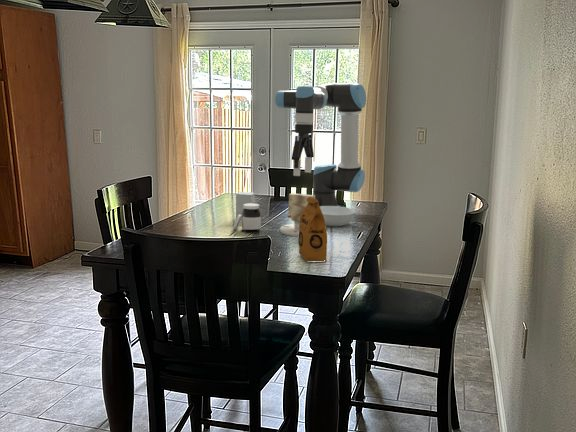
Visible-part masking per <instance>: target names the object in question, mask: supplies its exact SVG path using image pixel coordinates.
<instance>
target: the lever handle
mask: <svg viewBox="0 0 576 432" xmlns="http://www.w3.org/2000/svg"><path fill="white" fill-rule="evenodd" d="M308 197H312V198H314V199H315V195H313V194H303V193H293V192H291V193H289V194H288V214H287V216H286V217H287V218H289V219H290V220H291V221H292V222H294V221H296V222H300V216H301V214H302V212H303V211H304V209H305V207H306V206H307V204H308V201H307V198H308Z"/></svg>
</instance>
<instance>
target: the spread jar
mask: <svg viewBox="0 0 576 432" xmlns="http://www.w3.org/2000/svg"><path fill="white" fill-rule="evenodd" d="M243 208H244V209H243V211H242V215H238V216H237V218H236V217H235V220H234V223H233V227H232V229H233V230H234V231H237V230H238V229H239V226H240V224H241V230H242V232H243V233H247V234H248V233H249V234H255V233H259V232H261V225H262V223H261V221H262V219H261V218H262V215H261V214H262V213H261V210H260V204H258V203H255V202H254V203H247V204H244V205H243ZM241 219H242V221H241Z"/></svg>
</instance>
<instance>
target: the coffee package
mask: <svg viewBox="0 0 576 432" xmlns="http://www.w3.org/2000/svg"><path fill="white" fill-rule="evenodd" d="M307 201H308V204H307V206H306V207H305V209H304V211H303V212H302V214H301V216H300V225H299V237H298V238H297V244H298V254H299V255H300V256H301V258H303V260H305V261H306V262H307V261H324V260H326V261H327V256H328V255H327V251H328V231H327V226H326V225H325V220H324V216H323V214H322V211H321V209H320V206H319V203H318V201H317V200H316V199H314V198H312V197H308V198H307Z"/></svg>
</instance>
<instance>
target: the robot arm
mask: <svg viewBox="0 0 576 432" xmlns="http://www.w3.org/2000/svg"><path fill="white" fill-rule="evenodd" d="M366 93H367V92H366V89H365V88H364V86H363V85H362V84H360V83H356V82H355V83H354V82H343V83H341V82H332V83H331V82H329V83H325V84H320V85H315V86H313V85H311V86H310V85H298V86H296V88H295V89H294V90H278V91H277V92H276V94H275V96H274V97H275V98H274V100H275V101H274V102H275V106H276V107H278V108H280V109H295V115H294V118H295V119H294V122H295V124H294V133H296V134H298V135H295V136H294V144H293V150H292V154H291V160H292V161H293V176H294V177H300V176H301V161H302V160H301V156H302V154H303V151H304V154H305V157H304V173H309V174H310V173H312V160H313V159H312V158H314V157H315V152H314V145H313V139H312V138H313V135H312V134H313V132H314V125H313V123H314V110H322V109H323V108H325V107H332V108H337V112H338V113H339V114H340V162H339V164H338V165H336V164H322V165H317V166H316V165H315V167H314V168H313V175H312V177H313V179H312V180H313V181H312V182H313V183H312V184H313V185H312V195H315V199H316V200H317V201H318V203H319V206H339V204H338V201H337V196H336V191H340V192H347V193H348V192H349V193H359V191H361V189H362V188H363V186H364V183H365V179H366V173H365V170H364V169H362V164H360V163H359V120H360V119H359V117H360V116H359V115H360V114H361V113H362V110H363V108H365V107H366V105H367V104H366V102H367V94H366Z"/></svg>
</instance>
